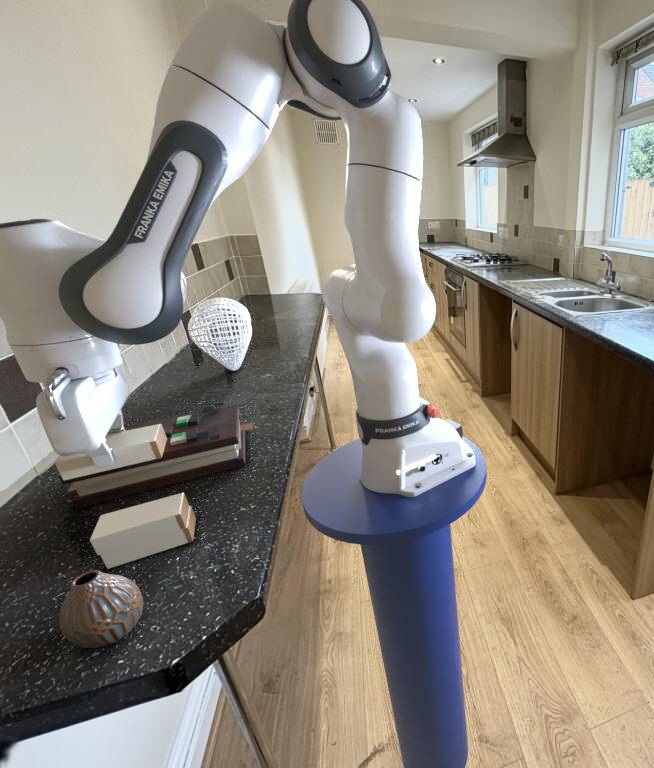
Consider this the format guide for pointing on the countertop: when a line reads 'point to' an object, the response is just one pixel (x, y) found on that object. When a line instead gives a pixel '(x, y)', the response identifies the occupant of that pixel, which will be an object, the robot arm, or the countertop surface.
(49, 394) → the robot arm
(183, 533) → the beige rectangular block
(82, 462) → the cream block
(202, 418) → the decorative book
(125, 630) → the vase
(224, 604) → the countertop surface
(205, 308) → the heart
